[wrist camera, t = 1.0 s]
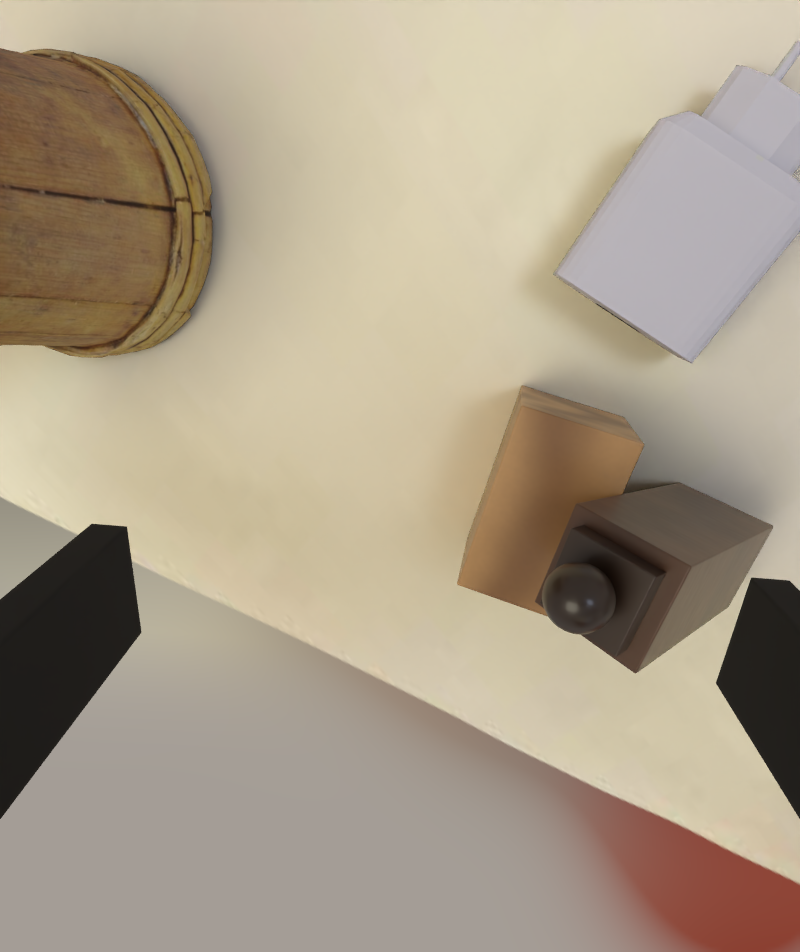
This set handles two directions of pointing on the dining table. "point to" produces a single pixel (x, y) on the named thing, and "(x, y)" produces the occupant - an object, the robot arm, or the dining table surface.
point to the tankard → (95, 208)
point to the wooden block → (542, 491)
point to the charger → (696, 214)
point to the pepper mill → (648, 569)
